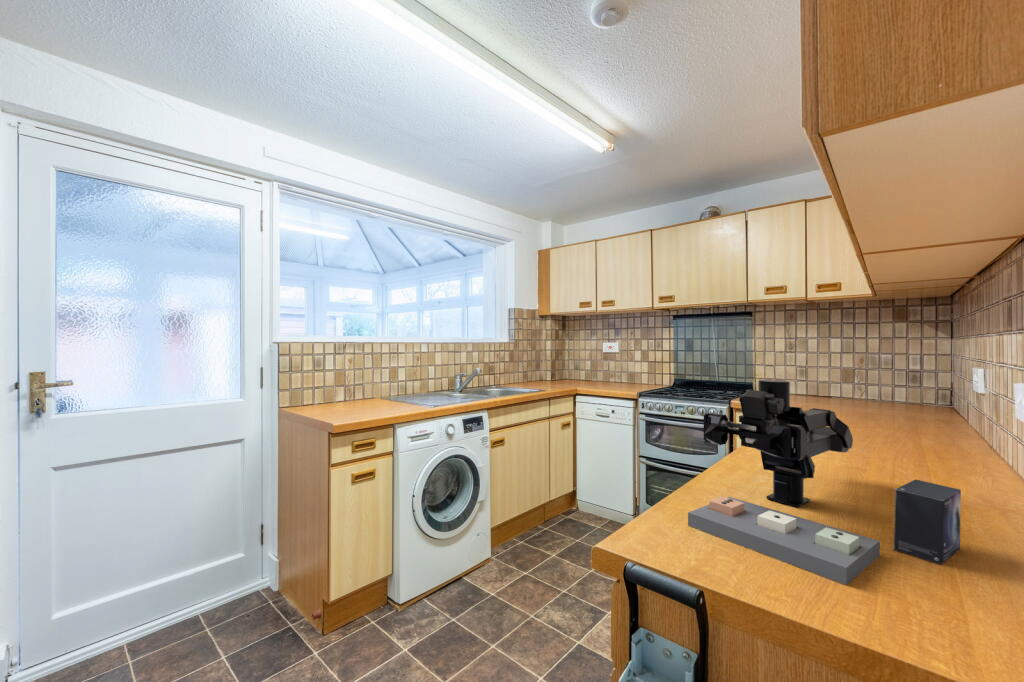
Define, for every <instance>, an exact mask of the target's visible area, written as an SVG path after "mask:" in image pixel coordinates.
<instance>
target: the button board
mask: <svg viewBox="0 0 1024 682" xmlns="http://www.w3.org/2000/svg"><path fill="white" fill-rule="evenodd" d="M726 498H729V499H733V500H736V501H739V502H743V503H744V512H743V513H741V514H739V515H736V516H734V517H732V516H729V515H726V514H723V513H720V512H717V511H713V510H710V509H709V504H707V505H704V506H701V507H699V508H696V509H693V510H690V511H689V512H687V527H691V528H693V529H696V530H698V531H701V532H704V533H706V532H707V534H709V535H712V536H715V537H717V536H718V537H717V538H719V539H723V540H725V541H727V540H728V541H727V542H730V541H731V542H730V543H733V542H734V543H733V544H735V543H736V545H739V546H742V547H743V546H744V547H743V548H746V547H747V548H746V549H749V550H751V549H752V551H754V550H755V551H754V552H757V553H759V552H760V554H762V555H765V556H768V557H771V558H773V559H775V560H778V561H781V562H783V563H786V564H789V565H792V566H794V567H797V568H800V569H802V570H804V571H807V572H809V573H813V574H815V575H818V576H820V577H823V578H825V579H828V580H831V581H834V582H836V583H839V584H842V585H845V586H847V585H848V584H849V583H851V582H852V581H853V580H854V579H855V578H856V577H857V576H858V575H860V574H861V573H862V572H863V571H865V570H866V569H867V568H868V567H869V566H870V565H871V564H872V563H874V562H875V561H876V560H877V559H878V558H880V556H881V553H880V552H881V549H880V548H881V547H880V546H881V545H880V544H881V543H880V542H881V541H880V540H877V539H875V538H871V537H869V536H865V535H863V534H862V535H861V534H859V533H858V534H857V533H855V532H851V531H848V530H844V529H841V528H838V527H835V526H831V525H827V524H824V523H820V522H818V521H817V522H816V521H814V520H810V519H806V518H803V517H800V516H797V515H792V514H789V513H786V512H783V511H779V510H777V509H772V508H768V507H765V506H762V505H759V504H755V503H751V502H748V501H746V500H745V501H744V500H742V499H738V498H735V497H733V496H728V497H726ZM769 510H770V511H773V512H777V513H780V514H783V515H787V516H790V517H793V518H796V529H795V530H793V531H791V532H789V533H788V534H783V533H780V532H777V531H774V530H771V529H768V528H765V527H762V526H759V525H757V516H758V515H760V514H763V513H765V512H767V511H769ZM826 527H827V528H830V529H834V530H837V531H841V532H844V533H847V534H851V535H854V536H857V537H859V550H857V551H856V552H855V553H853V554H852V555H851V556H850V555H847V554H844V553H841V552H838V551H835V550H832V549H829V548H826V547H823V546H820V545H817V544H815V534H816V533H818V532H819V531H821V530H823V529H824V528H826Z"/></svg>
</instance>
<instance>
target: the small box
mask: <svg viewBox="0 0 1024 682" xmlns="http://www.w3.org/2000/svg"><path fill="white" fill-rule="evenodd" d="M961 494H962V489H960V488H956V487H955V488H954V487H951V486H946V485H942V484H938V483H933V482H928V481H924V480H920V479H913V480H911V481H909V482H907V483H905V484H903V485H901V486H899V487H897V488H895V489H894V528H893V530H894V532H893V533H894V534H893V550H894V551H898V552H900V553H904V554H907V555H910V556H913V557H915V558H918V559H922V560H925V561H927V562H931V563H934V564H937V565H941V566H942V565H944V564H945V563H946V562H948V560H950V559H951V557H953V556H954V555H955V554H956V553H957V552H958V551H960V550H961V516H962V515H961V513H962V512H961V511H962V509H961V506H962V505H961V499H962V498H961V497H962V495H961Z"/></svg>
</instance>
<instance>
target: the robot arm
mask: <svg viewBox="0 0 1024 682" xmlns="http://www.w3.org/2000/svg"><path fill="white" fill-rule="evenodd" d="M790 387H791V382H790V381H786V380H769V379H758V390H754V389H753V390H752V389H749V390H746V391H745V392H744V393H743V394H742V395H741V396H740V397H739V398H738V401H739V403H740V409H741V413H742V415H739V416H738V423H737V422H733V421H729V418H728V416H727V415H726V414H724V413H714V412H707V413H705V414H704V415H703V440H704V442H705V443H709V444H713V445H719V446H723V445H726V444H727V442H728V440H729V435H734V436H738V438H739V440H740V446H741V447H745V448H746V447H747V448H751V449H755V450H756V451H760V457H761V461H762V468H763V470H765V471H771V472H772V473H773V474H772V475H773V476H772V493H770V494H768V495H766V496H765V497H766V499H767V500H771V501H773V502H774V501H775V502H778V503H781V504H785V505H789V506H791V507H796V508H800V507H801V506H804V505H805V504H808V503H809V502H811V499H810V498H808V497H804V494H805V493H804V486H805V485H804V484H805V483H804V480H806V479H814V475H815V468H816V465H815V464H814V461H813V459H812V457H816V456H818V455H820V454H823V453H826V452H828V451H829V452H836V453H847V452H849V450H850V449H852V448H853V445H854V444H853V442H854V438H853V435H852V432H851V429H850V428H849V426H848V425H847V424H846V423H844V422H843V421H842V420H840V419H839V418H838V417H837V415H836V413H835V411H832V410H831V409H826V408H825V409H823V408H814V407H813V408H809V409H808V410H803V408H802V407H798V406H791V400H790V399H791V390H790V389H791V388H790Z"/></svg>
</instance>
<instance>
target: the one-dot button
mask: <svg viewBox="0 0 1024 682" xmlns="http://www.w3.org/2000/svg"><path fill="white" fill-rule="evenodd" d="M757 525H759V526H762V527H765V528H768V529H771V530H774V531H777V532H780V533H783V534H788V533H789V532H791V531H793V530H795V529H796V518H793V517H790V516H787V515H783V514H780V513H777V512H773V511H770V510H769V511H767V512H765V513H763V514H760V515H758V516H757Z"/></svg>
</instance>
